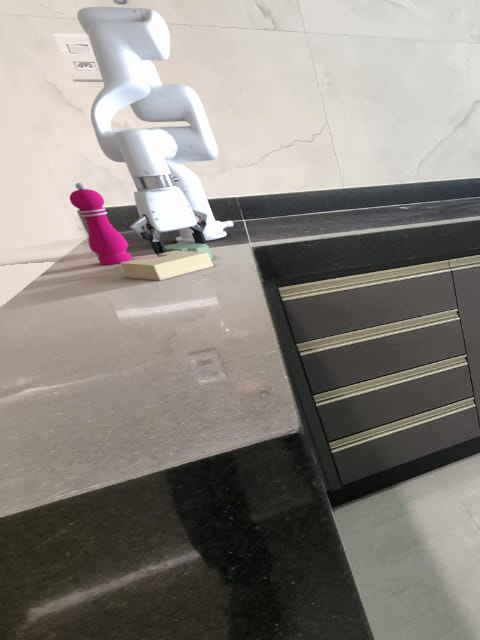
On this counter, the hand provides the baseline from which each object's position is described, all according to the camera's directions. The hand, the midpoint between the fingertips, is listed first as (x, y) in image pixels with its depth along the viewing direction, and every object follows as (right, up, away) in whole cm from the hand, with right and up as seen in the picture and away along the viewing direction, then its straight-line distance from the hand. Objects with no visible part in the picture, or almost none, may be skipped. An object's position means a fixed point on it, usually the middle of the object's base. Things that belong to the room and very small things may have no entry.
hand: (183, 252), depth 138 cm
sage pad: (+1, -2, +1) cm, 2 cm away
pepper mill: (-19, -2, +2) cm, 19 cm away
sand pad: (+6, -7, -11) cm, 14 cm away
